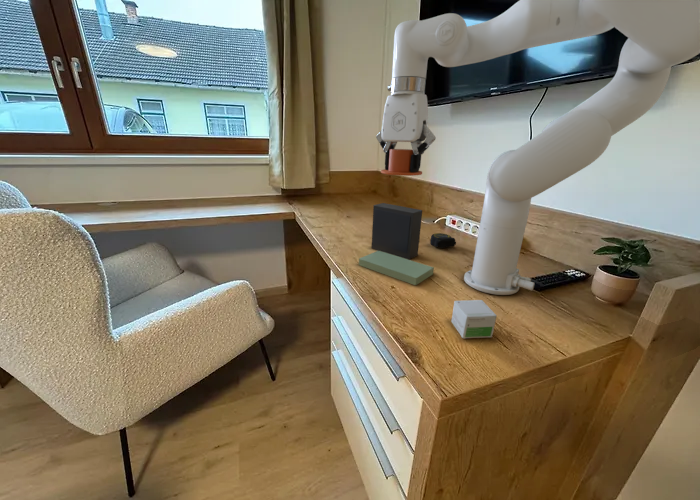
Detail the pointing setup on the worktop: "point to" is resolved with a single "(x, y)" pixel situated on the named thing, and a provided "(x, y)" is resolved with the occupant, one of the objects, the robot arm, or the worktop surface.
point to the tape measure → (442, 240)
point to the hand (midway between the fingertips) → (401, 170)
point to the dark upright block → (396, 230)
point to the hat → (400, 163)
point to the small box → (473, 319)
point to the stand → (396, 267)
